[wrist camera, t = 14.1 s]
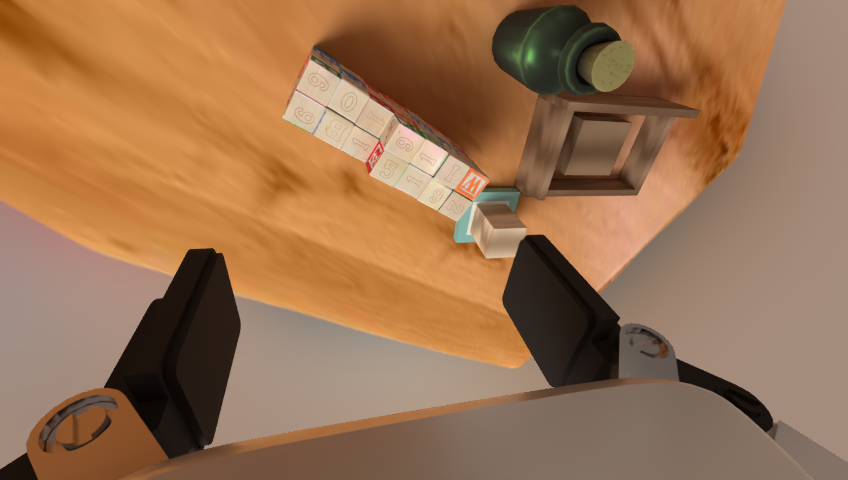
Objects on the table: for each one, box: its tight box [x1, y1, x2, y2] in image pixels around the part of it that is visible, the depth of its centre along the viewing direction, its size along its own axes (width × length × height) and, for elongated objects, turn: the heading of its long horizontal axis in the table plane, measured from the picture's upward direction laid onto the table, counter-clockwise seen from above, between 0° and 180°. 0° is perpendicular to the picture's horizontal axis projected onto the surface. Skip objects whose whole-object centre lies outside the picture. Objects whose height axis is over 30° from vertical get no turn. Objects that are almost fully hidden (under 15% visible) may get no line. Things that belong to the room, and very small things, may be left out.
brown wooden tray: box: [514, 91, 700, 200], centre depth 50 cm, size 14×20×7 cm
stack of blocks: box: [283, 46, 490, 221], centre depth 40 cm, size 21×6×12 cm, turn 54°
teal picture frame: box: [453, 188, 521, 243], centre depth 56 cm, size 9×9×2 cm
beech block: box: [470, 204, 527, 258], centre depth 52 cm, size 5×5×7 cm
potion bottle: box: [492, 5, 635, 96], centre depth 36 cm, size 8×8×18 cm
